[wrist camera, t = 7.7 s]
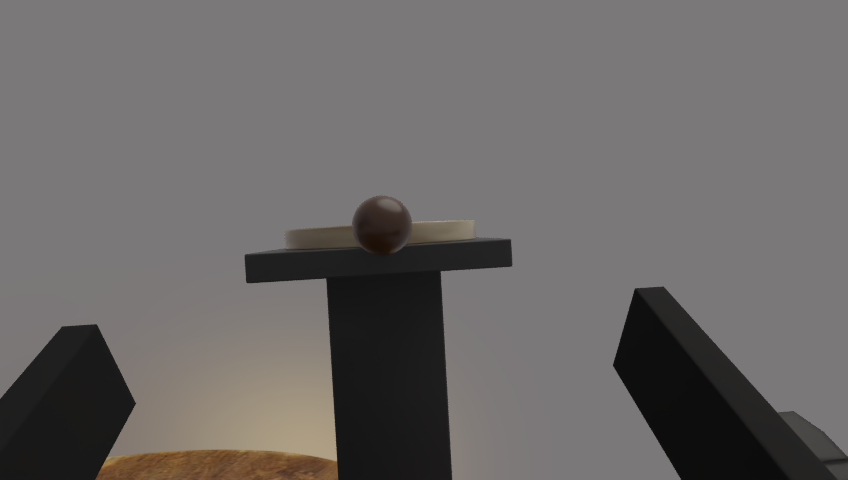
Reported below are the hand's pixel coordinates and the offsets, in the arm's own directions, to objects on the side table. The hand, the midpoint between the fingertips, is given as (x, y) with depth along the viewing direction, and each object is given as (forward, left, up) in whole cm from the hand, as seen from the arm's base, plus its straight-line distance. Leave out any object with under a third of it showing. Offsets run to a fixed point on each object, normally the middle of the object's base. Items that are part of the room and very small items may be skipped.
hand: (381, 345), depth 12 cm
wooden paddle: (-12, +7, +2) cm, 14 cm away
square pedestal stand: (-17, +10, -30) cm, 36 cm away
